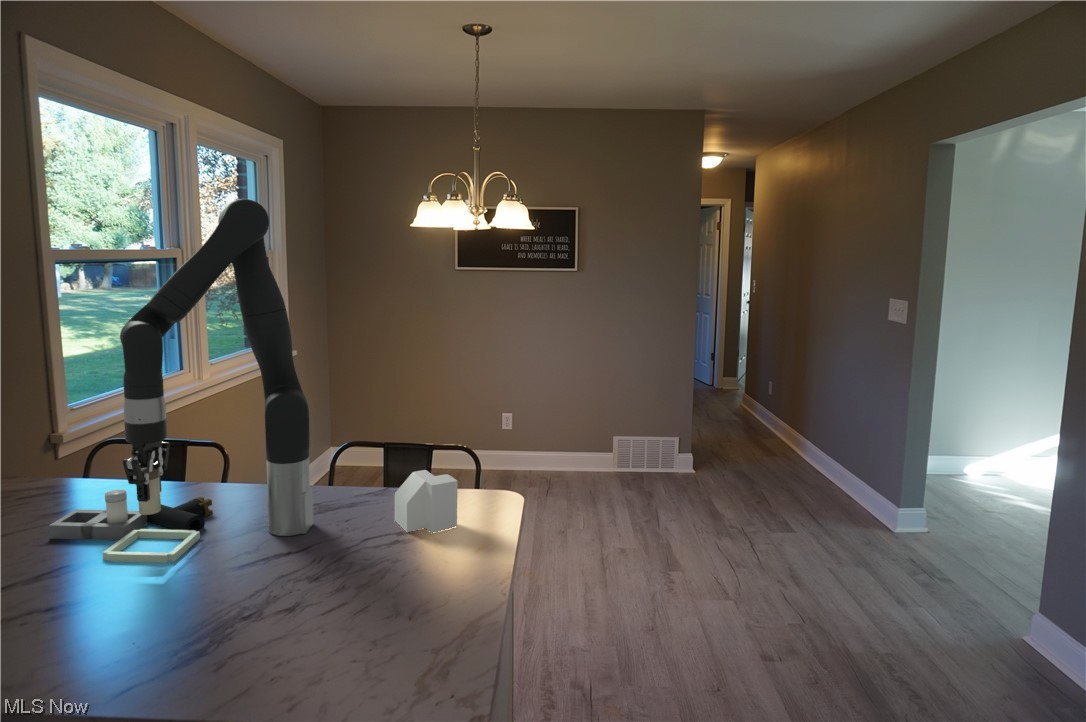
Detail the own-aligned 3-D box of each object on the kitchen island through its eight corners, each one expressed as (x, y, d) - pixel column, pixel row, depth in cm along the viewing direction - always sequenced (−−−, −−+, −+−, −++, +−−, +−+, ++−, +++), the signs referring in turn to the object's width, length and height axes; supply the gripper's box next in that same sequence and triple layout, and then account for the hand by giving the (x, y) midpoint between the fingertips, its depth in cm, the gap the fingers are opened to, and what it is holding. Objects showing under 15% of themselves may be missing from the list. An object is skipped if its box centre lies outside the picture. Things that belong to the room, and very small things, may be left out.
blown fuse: (165, 507, 147) (163, 467, 145) (154, 515, 143) (152, 473, 141) (145, 507, 147) (143, 466, 145) (134, 514, 143) (132, 473, 141)
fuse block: (147, 527, 158) (146, 511, 158) (125, 544, 149) (123, 527, 149) (77, 525, 158) (75, 509, 157) (50, 542, 149) (48, 525, 148)
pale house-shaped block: (456, 528, 164) (457, 480, 162) (412, 538, 158) (412, 488, 156) (437, 513, 173) (437, 467, 171) (394, 522, 167) (394, 474, 164)
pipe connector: (184, 489, 169) (227, 501, 162) (186, 510, 170) (229, 522, 163) (139, 506, 158) (184, 519, 152) (141, 527, 159) (186, 541, 153)
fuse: (132, 527, 156) (130, 489, 154) (122, 535, 152) (119, 496, 150) (114, 527, 156) (111, 489, 154) (103, 534, 152) (100, 496, 150)
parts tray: (201, 541, 153) (201, 530, 152) (173, 567, 140) (172, 555, 140) (135, 539, 152) (135, 528, 152) (101, 565, 140) (100, 553, 140)
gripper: (144, 427, 134) (149, 510, 137) (181, 410, 148) (184, 485, 151) (105, 425, 134) (111, 509, 137) (146, 408, 148) (150, 484, 151)
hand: (149, 496), depth 144 cm, fingers closed on blown fuse, 4 cm apart
